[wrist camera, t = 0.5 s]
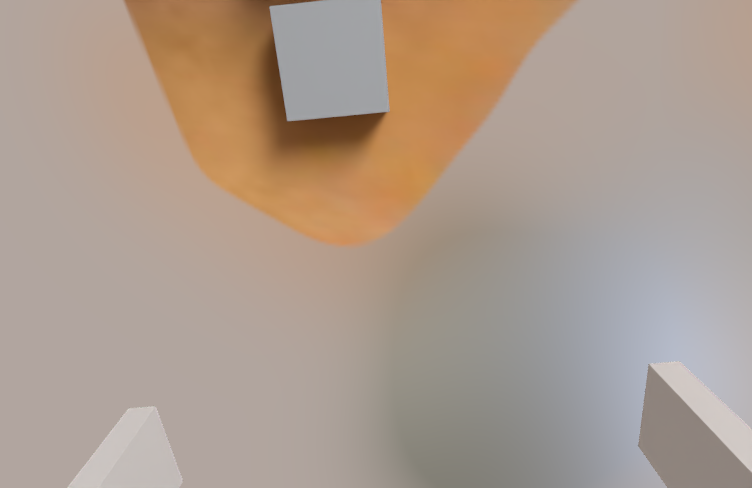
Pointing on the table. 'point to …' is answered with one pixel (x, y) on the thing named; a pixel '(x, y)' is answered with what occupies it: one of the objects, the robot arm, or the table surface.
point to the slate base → (331, 58)
